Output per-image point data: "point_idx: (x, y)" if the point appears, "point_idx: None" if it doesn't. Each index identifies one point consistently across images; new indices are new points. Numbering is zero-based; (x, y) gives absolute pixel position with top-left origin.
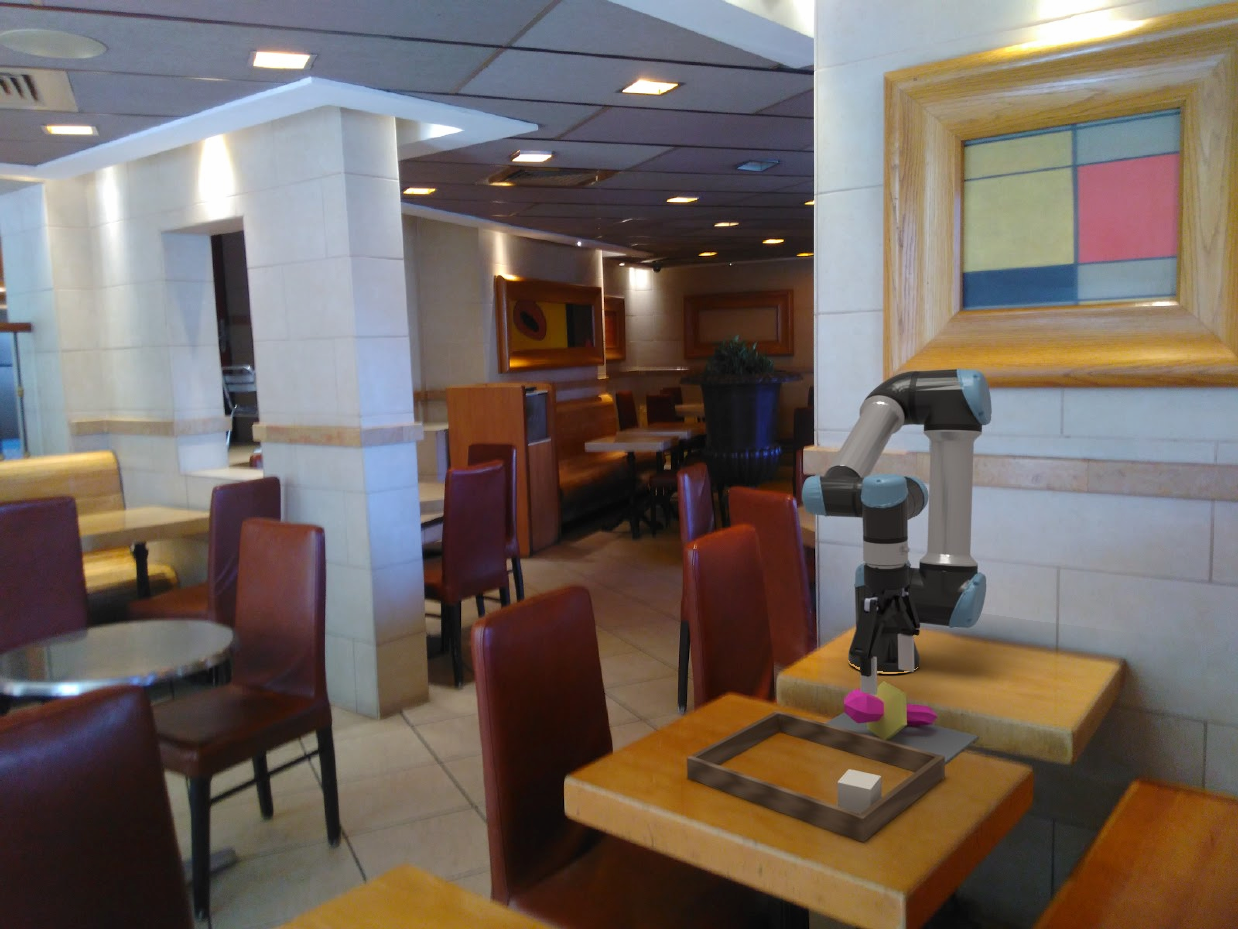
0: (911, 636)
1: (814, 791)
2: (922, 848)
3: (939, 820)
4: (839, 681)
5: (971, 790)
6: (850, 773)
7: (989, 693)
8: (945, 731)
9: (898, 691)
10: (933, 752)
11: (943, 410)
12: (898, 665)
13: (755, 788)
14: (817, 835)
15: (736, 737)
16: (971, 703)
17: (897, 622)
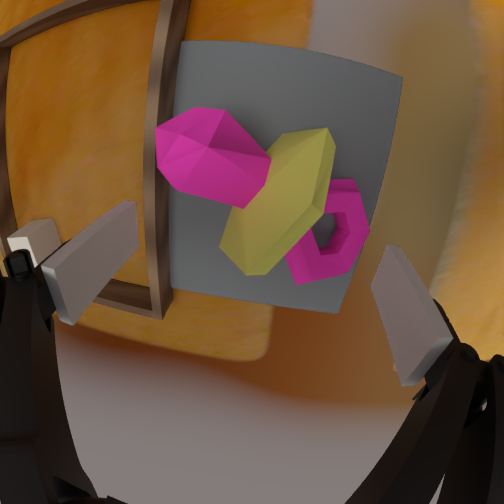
0: (411, 382)
1: (42, 172)
2: None
3: (87, 307)
4: (494, 39)
5: (163, 326)
6: (23, 242)
7: (499, 280)
8: None
9: (249, 264)
10: (236, 274)
11: None
12: (391, 250)
13: None
14: None
15: (49, 17)
16: (469, 270)
17: (422, 421)
